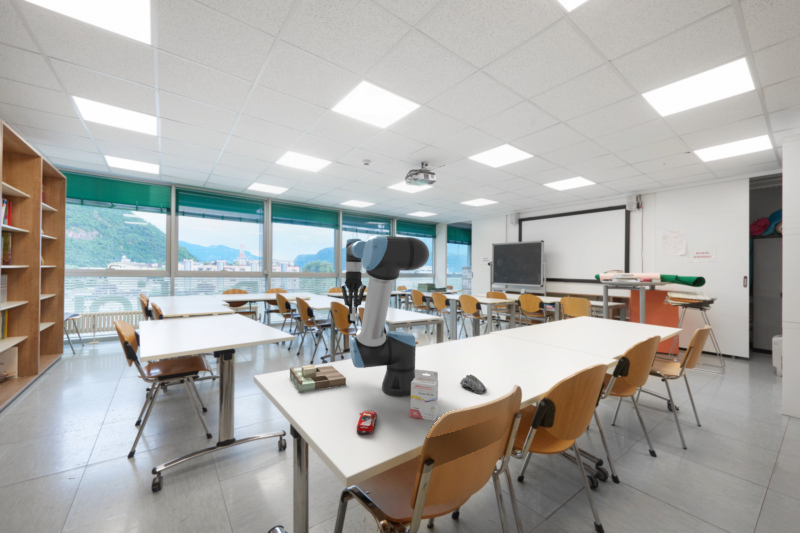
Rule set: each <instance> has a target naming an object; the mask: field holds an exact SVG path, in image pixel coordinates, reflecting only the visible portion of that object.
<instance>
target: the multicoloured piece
mask: <svg viewBox="0 0 800 533" xmlns="http://www.w3.org/2000/svg"><path fill="white" fill-rule="evenodd" d="M315 367H316V366H315ZM301 374H302V368H300V369H294V368H293V367H292V366H290V367H289V378H290V380H291V382H292V384H294V387H295V388H296V389H297V391H298V393H305V391H306V392H311V391H318V390H324V389H330V388H329V387H331V388H336V387H335V386H337V387H341V385H343V386H347V384H346V383H347V377H345V375H343V374H342V373H341V372H340V371H338V369H336V368H335V367H334V366H333V365H326V366H318V367H316V376H315V377H308V378H304V377H303V376H302V375H301Z"/></svg>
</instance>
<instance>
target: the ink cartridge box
mask: <svg viewBox="0 0 800 533" xmlns="http://www.w3.org/2000/svg"><path fill="white" fill-rule="evenodd" d="M425 374H427V375H425ZM438 376H439V375H438V371H432V370H425V369H418V368H417V369H416V368H415V378H414V379H413V381H412V382H411V395H410V404H409V406H410V409H409V413H410V414H409V416H410V418H414V419H420V420H427V421H432V422H436V419H437V417H438V408H439V406H438V405H439V404H438V403H439V379H438V378H439V377H438Z"/></svg>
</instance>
